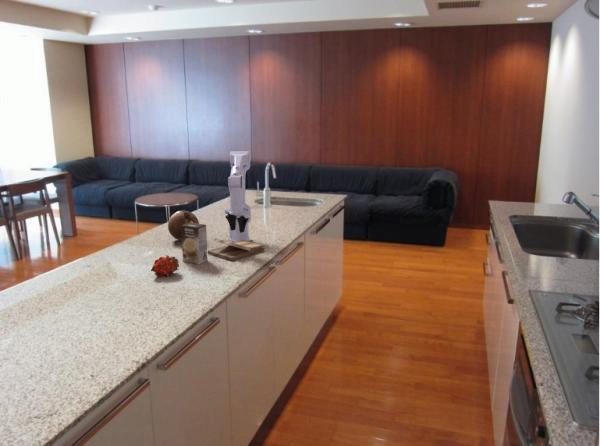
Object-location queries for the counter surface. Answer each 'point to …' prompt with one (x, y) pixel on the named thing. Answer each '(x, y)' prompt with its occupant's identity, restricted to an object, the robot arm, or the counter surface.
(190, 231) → the coffee box
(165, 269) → the dragon fruit
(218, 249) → the board
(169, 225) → the wooden sphere
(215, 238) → the oak plank
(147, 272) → the counter surface
